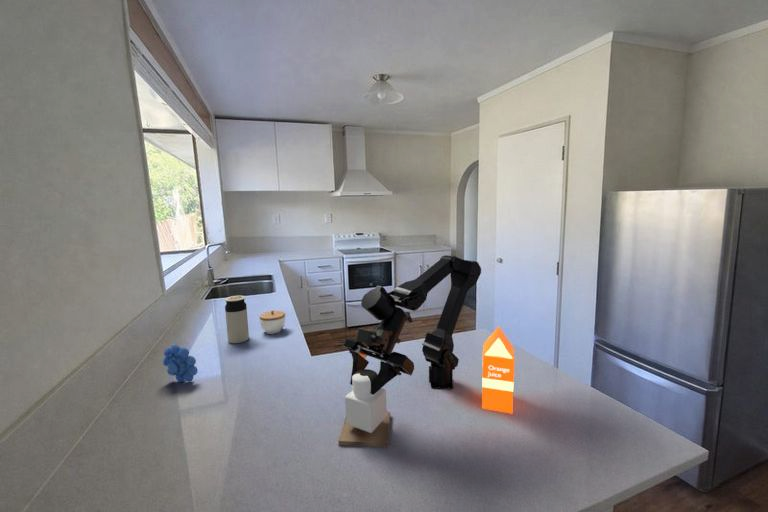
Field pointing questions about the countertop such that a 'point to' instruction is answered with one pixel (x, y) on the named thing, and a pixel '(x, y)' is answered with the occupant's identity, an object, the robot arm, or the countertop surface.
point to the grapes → (180, 363)
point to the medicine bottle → (365, 402)
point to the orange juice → (498, 373)
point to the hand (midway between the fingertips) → (361, 389)
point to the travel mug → (236, 319)
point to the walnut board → (366, 435)
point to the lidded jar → (272, 321)
